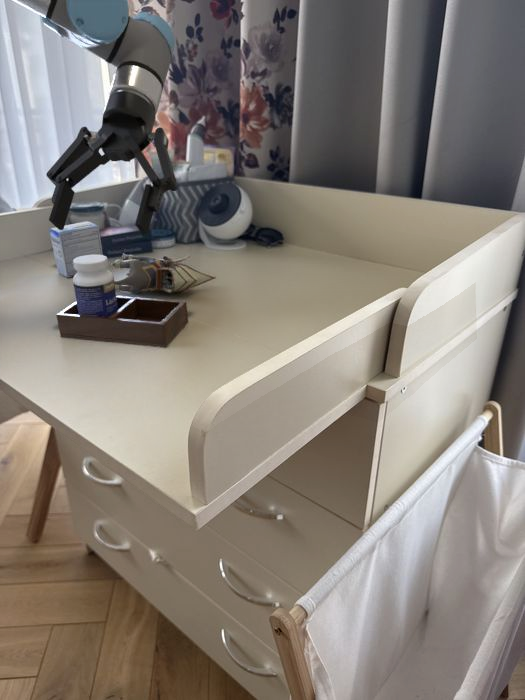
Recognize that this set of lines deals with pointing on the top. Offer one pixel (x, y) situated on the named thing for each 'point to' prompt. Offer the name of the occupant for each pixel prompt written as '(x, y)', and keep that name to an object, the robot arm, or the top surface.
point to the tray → (128, 322)
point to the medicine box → (74, 245)
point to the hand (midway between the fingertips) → (97, 227)
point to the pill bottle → (94, 286)
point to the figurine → (157, 274)
